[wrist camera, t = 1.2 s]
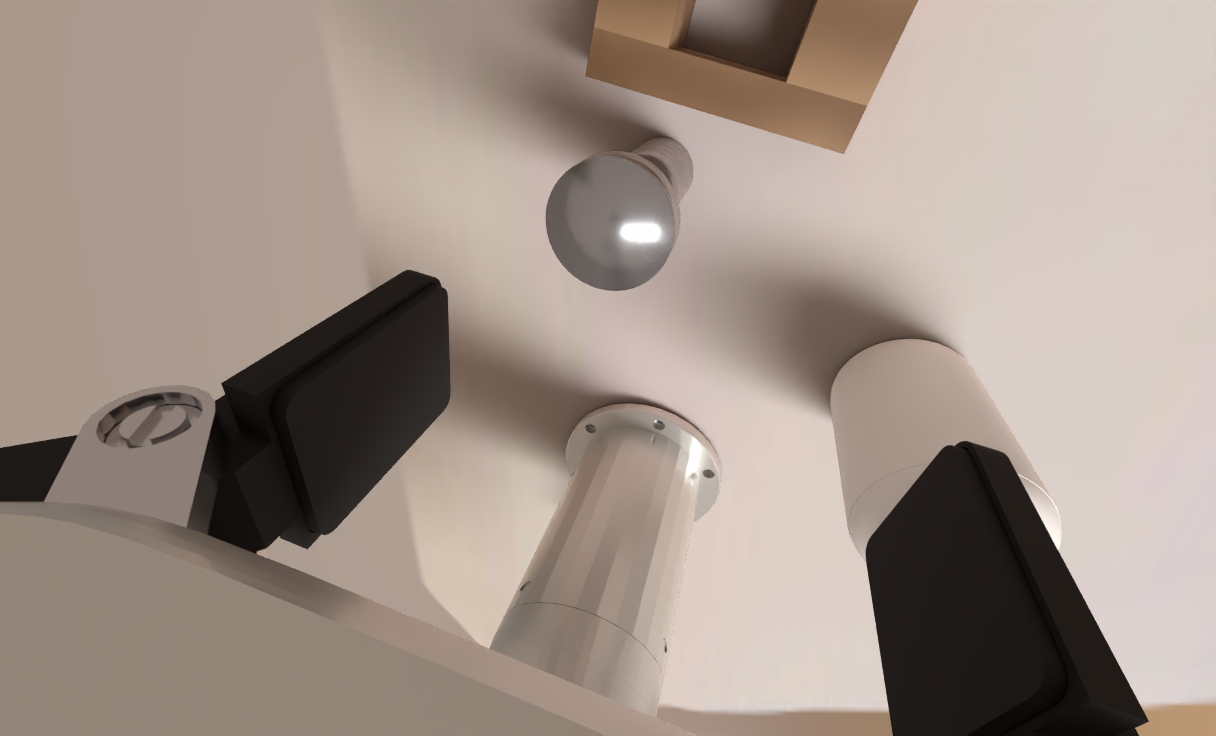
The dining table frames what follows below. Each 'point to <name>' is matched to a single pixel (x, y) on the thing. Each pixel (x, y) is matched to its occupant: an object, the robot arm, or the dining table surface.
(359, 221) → the dining table surface
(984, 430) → the pill bottle
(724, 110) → the block
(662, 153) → the steel pin
